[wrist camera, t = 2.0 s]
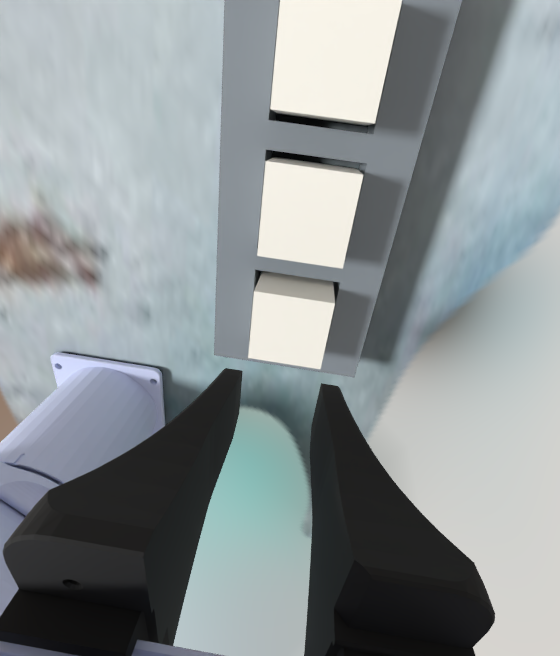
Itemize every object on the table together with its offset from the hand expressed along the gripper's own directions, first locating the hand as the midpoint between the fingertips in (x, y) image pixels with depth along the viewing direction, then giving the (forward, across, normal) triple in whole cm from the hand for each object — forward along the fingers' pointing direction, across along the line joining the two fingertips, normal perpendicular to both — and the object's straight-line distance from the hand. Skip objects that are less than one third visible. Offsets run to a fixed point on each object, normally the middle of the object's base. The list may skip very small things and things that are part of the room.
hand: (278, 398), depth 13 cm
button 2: (+8, 0, -11) cm, 14 cm away
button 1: (+8, 0, 0) cm, 8 cm away
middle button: (+8, 0, -5) cm, 10 cm away
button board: (+9, 0, -6) cm, 11 cm away
